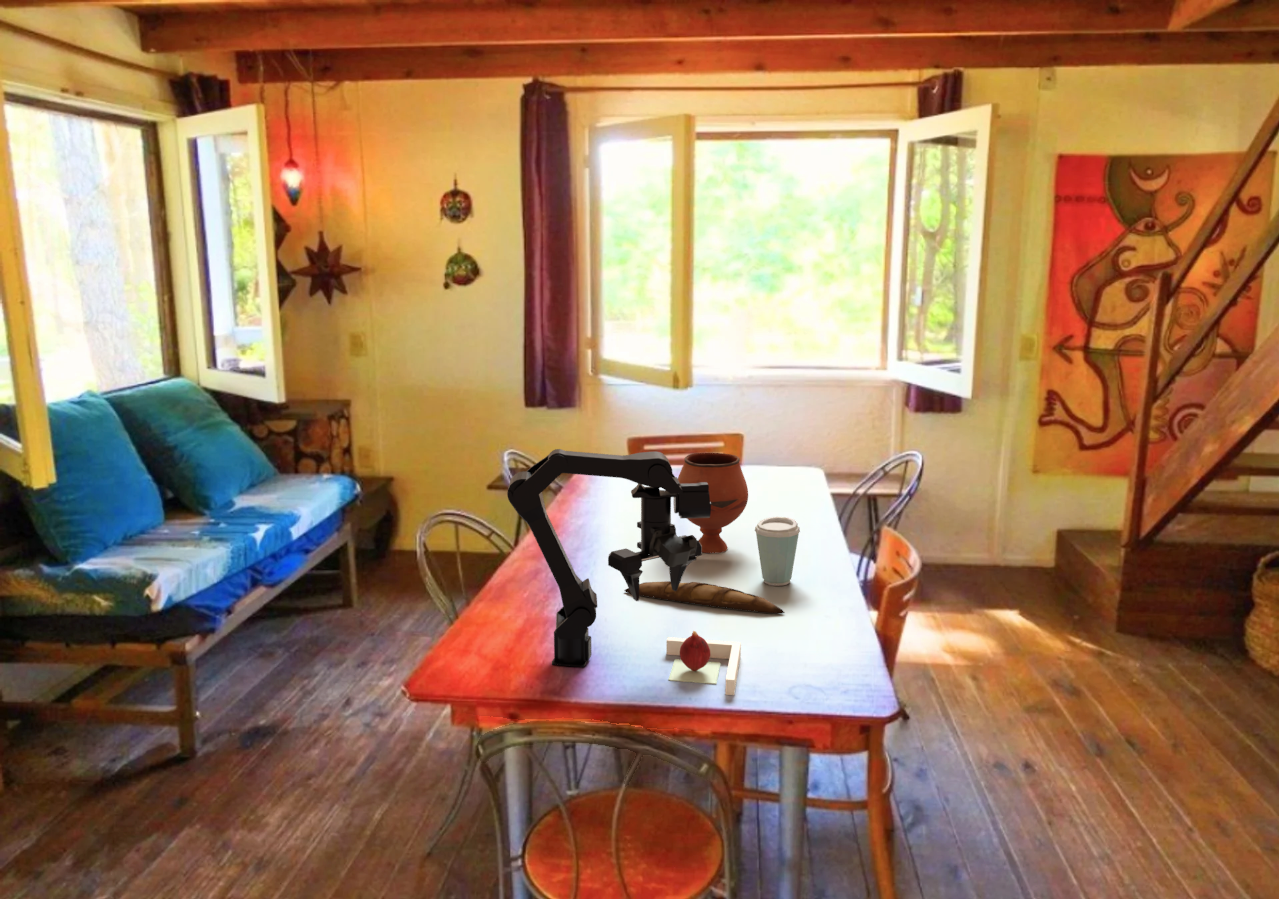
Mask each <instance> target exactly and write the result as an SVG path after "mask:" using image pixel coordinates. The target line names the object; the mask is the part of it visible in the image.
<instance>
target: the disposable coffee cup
mask: <svg viewBox="0 0 1279 899" xmlns="http://www.w3.org/2000/svg"><path fill="white" fill-rule="evenodd" d="M798 524H799V523H798V522H797V520H796V519H794V518H790V517H785V516H772V517H766V518H764V519H761V520H759V521H758V523H757V525H756V526H755V529H754V531H755V534H756V541H757V549H758V555H759V562H760V568H761V577H762V579H763V582H764V583H765V584H766V585H769V586H776V587H778V586H779V587H781V586H786V585H789V584H790V582H791V580H792V577H793V572H794V563H795V557H796V551H797V546H798V540H799V534H800V533H801V531H800V527H799V525H798Z"/></svg>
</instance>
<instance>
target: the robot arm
mask: <svg viewBox="0 0 1279 899" xmlns="http://www.w3.org/2000/svg"><path fill="white" fill-rule="evenodd" d="M562 474H569V475H582V476H591V477H592V476H595V477H606V478H616V479H617V478H619V479H625V480H627V481H631V482H633V483H635V484H637V485H636V486H635V487H634V488H632V489H631V491H630V493H631V497H632V498H633V499H640V521H637V522H636V528H639V529H640V541H638V542H636V548H638V549H640V551H636V552H635V551H633V550H631V549H629V548H627V547H626V548H622V549H618V550H617V549H616V550H613V551H611V552H610V553H609V554H608V556H607V566H609V567H611V568H613V569H614V570H617V571H619V572H620V574H621V576H622V577H623V579H624V581H625V583H626V585H627V588H629V590H630V592H631V593H630V594H631V596H632V598H633V600H634V601H635V602H639V599H640V595H639V584H640V577H641V576H642V574H643V572H644V571H643V570H642V569H641V568H642V567H643V562H646V561H650V560H654V559H655V560H656V559H658V558H660V559H661V561H663V562H664V564H665V566H667V567H669V568H668V569H669V578H670V579H669V580H670V581H671V586H672V590H674V591H677V589H678V586H679V584H680V583H681V581H682V578H683V575H684V572H685V571H686V568H687V566H688V565H689V564H690V563H692V562H694V561H697V557H700V556H702V554H703V553H702V546H701V544H700V542H699V541H698V540H699V539H698V540H697V537H696V536H695V535H693V534H690V535H680V536H678V535H677V529H676V524H674V523H672V522H671V521H672V513H671V512H672V498H673V513H674V514H678V516H679V518H680V519H687V518H710V514H711V502H710V496H709V485H708V483H707V482H700V483H687V484H680V483H679V481H678V477H676V476H675V474H674V473H673V468H672V466H671V463H670V461H669V458H668V457H667V456H666V455H665V454H664V453H662V451H661V452H660V451H646V452H645V451H644V452H636V453H632V454H626V455H619V454H609V453H608V454H605V453H595V452H594V453H593V452H583V451H572V450H564V449H561V448H557V449H556V448H555V449H553V450H552V451H550V452H549V454H548V455H546V456H545V457H544V458H542V459H541V460H539V461H537V462H536V463H535V464H533V465H532V466H531V467H530V468H529V469H527V470H526V471H525V470H523V471H519V472H518V471H517V472H516V473H515V474H514V475H513V476H512V477H511V478H510V481H509V484H508V488H507V493H506V494H507V499H508V501H509V504H511V506H512V508H513V509H514V510H515V512H516V513H517V514H518V516H520V517H521V519H523V521H524V522H525V523H526V524H527V525H528V527H529V528H530V530H531V533H532V535H533V537H534V539H535V542H536V543H537V544H538V547H539V548H540V551H541V552H542V553H541V554H542V556H543V557H544V560H545V561H546V563H547V565H548V568H549V569H550V572H551V573H552V577H553V578H554V580H555V581H556V584H557V587H558V588H559V593H560V597H561V601H562V602H561V603H562V607H561V608H559V610H558V611H557V612H556V613H555V614H556V615H555V617H556V619H555V630H554V631H553V651H554V653H553V657H554V658H553V659H552V661H551V665H552V666H560V667H561V666H562V667H574V668H584V667H586V664H587V663H588V662H589V661H590V658H591V657H592V636H591V635H589V627H591V626H592V625H594V623H595V622H596V618H597V608H598V596H597V593H596V592H595V591H594V590H593V589H592V585H591V581H590V579H589V578H586V579H584V580H582V579H581V578H580V577H579V576H578V575H577V574H576V572H575V570H574V567H573V566H572V564H571V561H570V558H568V555H567V553H566V550H565V548H564V546H563V544H562V542H561V541H560V538H559V536H558V534H557V532H556V529H555V528H554V526H553V523H552V521H551V520H550V517H549V515H548V512H547V509H546V503H545V500H544V499H545V498H544V495H543V492H544V491H545V490H546V489H547V488H548V487H549V486H550V485H551V484H552V483H553V482H554V481H555V480H556V479H557V478H558V477H560V476H561V475H562ZM660 488H662V489H660Z"/></svg>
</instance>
